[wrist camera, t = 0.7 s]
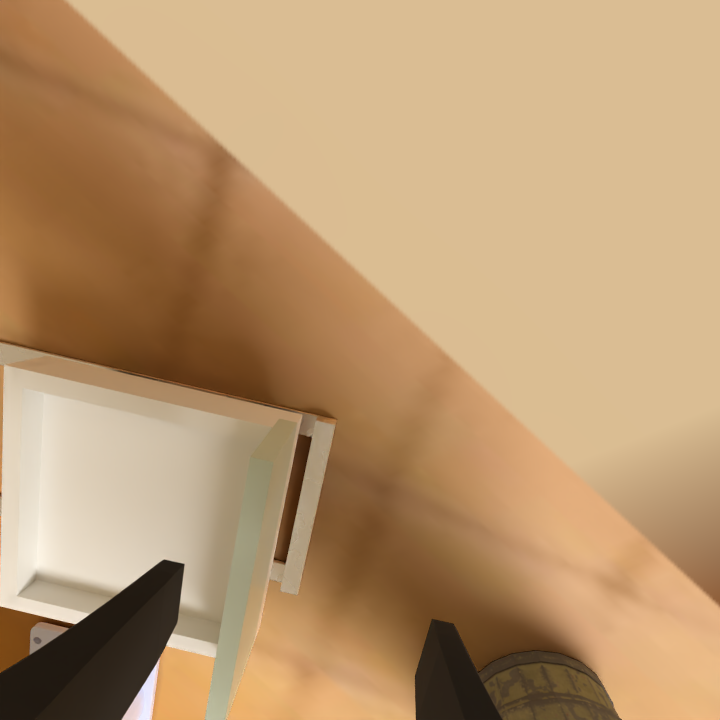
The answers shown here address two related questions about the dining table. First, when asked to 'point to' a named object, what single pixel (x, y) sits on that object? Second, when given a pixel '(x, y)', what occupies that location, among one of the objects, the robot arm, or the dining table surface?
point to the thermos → (546, 688)
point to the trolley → (142, 502)
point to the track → (312, 482)
